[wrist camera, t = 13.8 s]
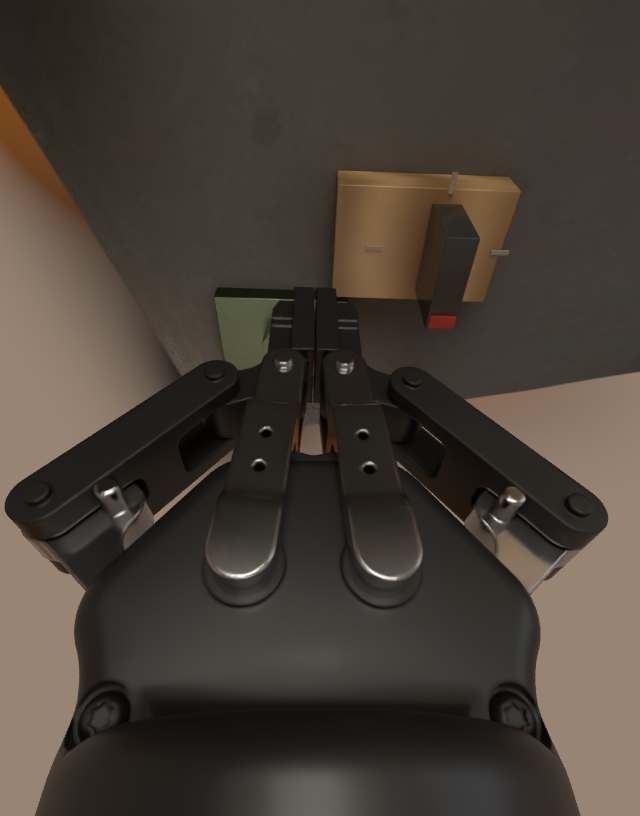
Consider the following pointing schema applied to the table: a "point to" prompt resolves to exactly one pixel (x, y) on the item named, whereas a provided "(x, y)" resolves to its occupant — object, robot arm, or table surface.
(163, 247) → the table surface
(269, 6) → the table surface
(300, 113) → the table surface
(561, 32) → the table surface
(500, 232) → the wooden base block
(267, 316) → the button box
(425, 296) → the dark grey flat block
